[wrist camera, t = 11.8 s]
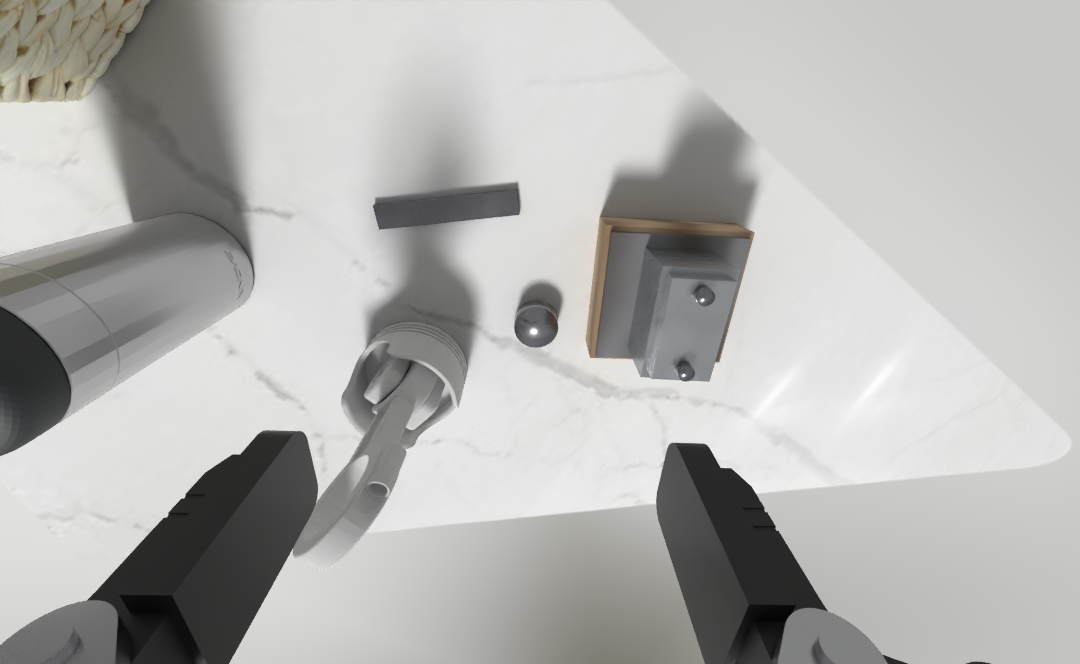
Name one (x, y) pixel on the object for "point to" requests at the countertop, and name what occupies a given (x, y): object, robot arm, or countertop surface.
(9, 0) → the storage basket
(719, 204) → the countertop surface
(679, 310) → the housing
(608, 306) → the stand
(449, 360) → the engine component
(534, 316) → the dark grey domed cap
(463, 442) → the countertop surface
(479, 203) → the bar
